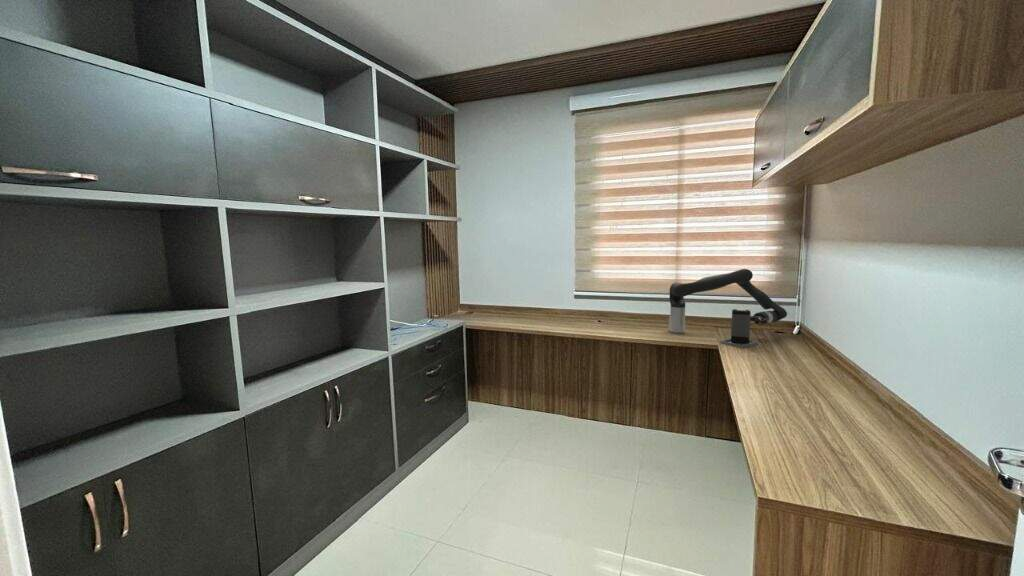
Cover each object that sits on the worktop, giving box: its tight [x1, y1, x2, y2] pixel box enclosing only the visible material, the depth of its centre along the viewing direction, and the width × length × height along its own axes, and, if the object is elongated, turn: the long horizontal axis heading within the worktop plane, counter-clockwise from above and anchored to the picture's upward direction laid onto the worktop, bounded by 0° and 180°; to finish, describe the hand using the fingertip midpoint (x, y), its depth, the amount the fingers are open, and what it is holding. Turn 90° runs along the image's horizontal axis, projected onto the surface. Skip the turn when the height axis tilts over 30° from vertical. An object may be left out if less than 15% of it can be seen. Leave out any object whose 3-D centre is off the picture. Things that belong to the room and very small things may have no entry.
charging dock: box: [719, 337, 759, 349], centre depth 234 cm, size 13×16×2 cm
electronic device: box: [730, 308, 751, 345], centre depth 232 cm, size 9×6×20 cm, turn 62°
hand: (748, 321), depth 236 cm, fingers open, 8 cm apart
